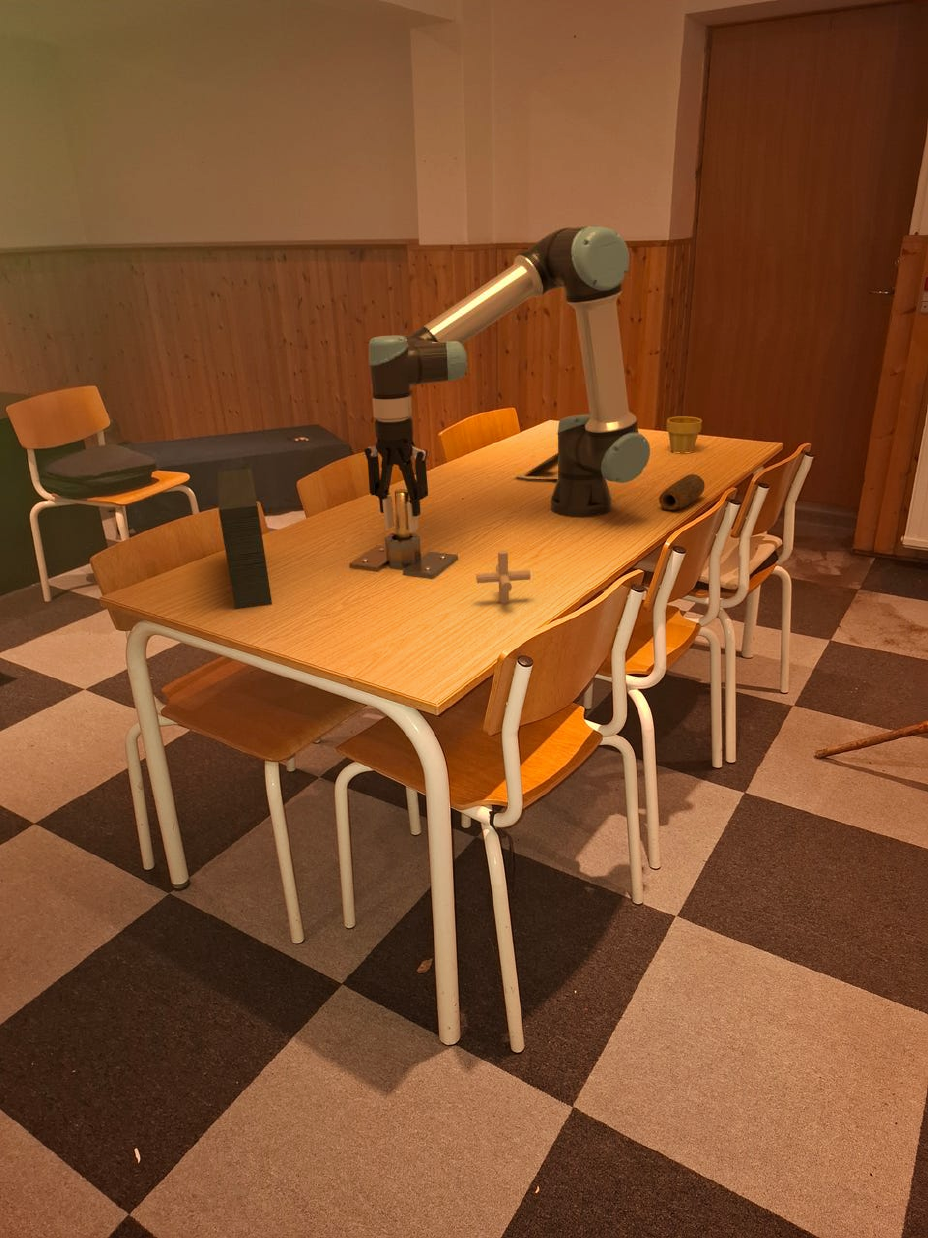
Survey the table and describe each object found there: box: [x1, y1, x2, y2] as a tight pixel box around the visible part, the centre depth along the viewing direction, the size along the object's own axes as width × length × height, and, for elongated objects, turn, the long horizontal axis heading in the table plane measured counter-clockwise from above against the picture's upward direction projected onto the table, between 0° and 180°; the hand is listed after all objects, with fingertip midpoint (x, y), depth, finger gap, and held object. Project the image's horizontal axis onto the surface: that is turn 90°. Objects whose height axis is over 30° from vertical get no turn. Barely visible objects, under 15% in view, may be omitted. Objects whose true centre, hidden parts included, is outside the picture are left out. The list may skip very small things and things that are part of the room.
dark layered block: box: [217, 468, 273, 610], centre depth 171 cm, size 29×7×20 cm, turn 15°
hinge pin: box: [394, 488, 411, 541], centre depth 177 cm, size 3×3×16 cm
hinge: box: [348, 531, 459, 580], centre depth 179 cm, size 20×12×6 cm, turn 65°
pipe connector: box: [475, 549, 531, 604], centre depth 158 cm, size 10×10×10 cm
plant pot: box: [665, 415, 703, 453], centre depth 258 cm, size 10×10×10 cm
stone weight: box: [658, 473, 706, 511], centre depth 209 cm, size 15×7×7 cm, turn 146°
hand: (401, 528), depth 177 cm, fingers open, 5 cm apart
